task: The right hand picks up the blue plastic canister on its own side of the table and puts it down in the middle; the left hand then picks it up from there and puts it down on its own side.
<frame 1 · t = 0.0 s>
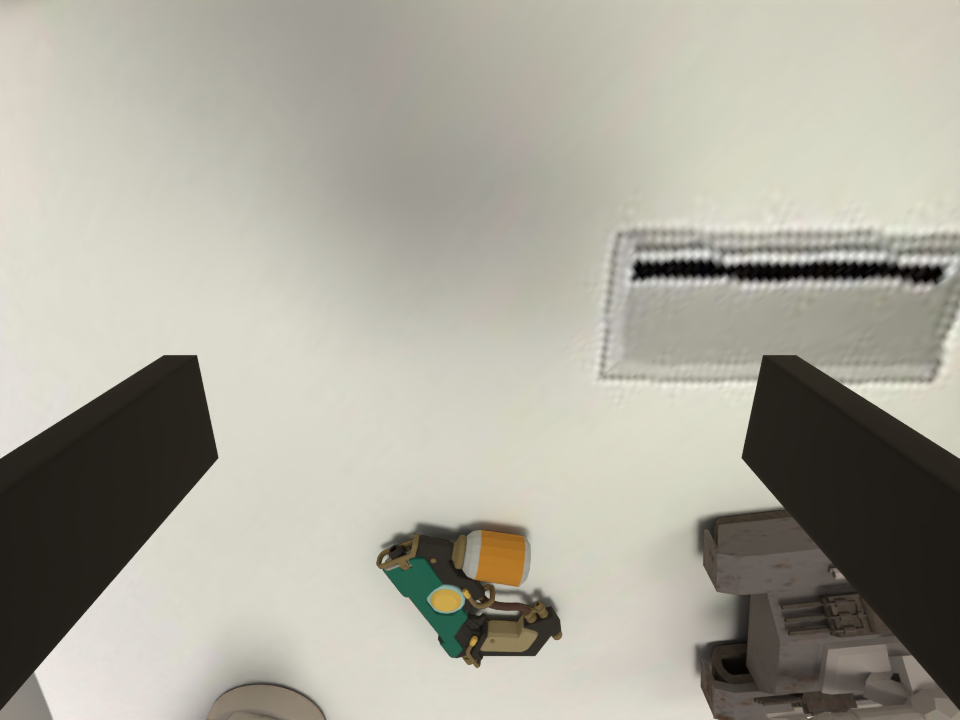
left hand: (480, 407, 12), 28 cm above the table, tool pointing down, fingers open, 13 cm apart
toy: (826, 584, 51), on the table
bust sculpture: (260, 698, 56), on the table
spray gun: (473, 584, 51), on the table
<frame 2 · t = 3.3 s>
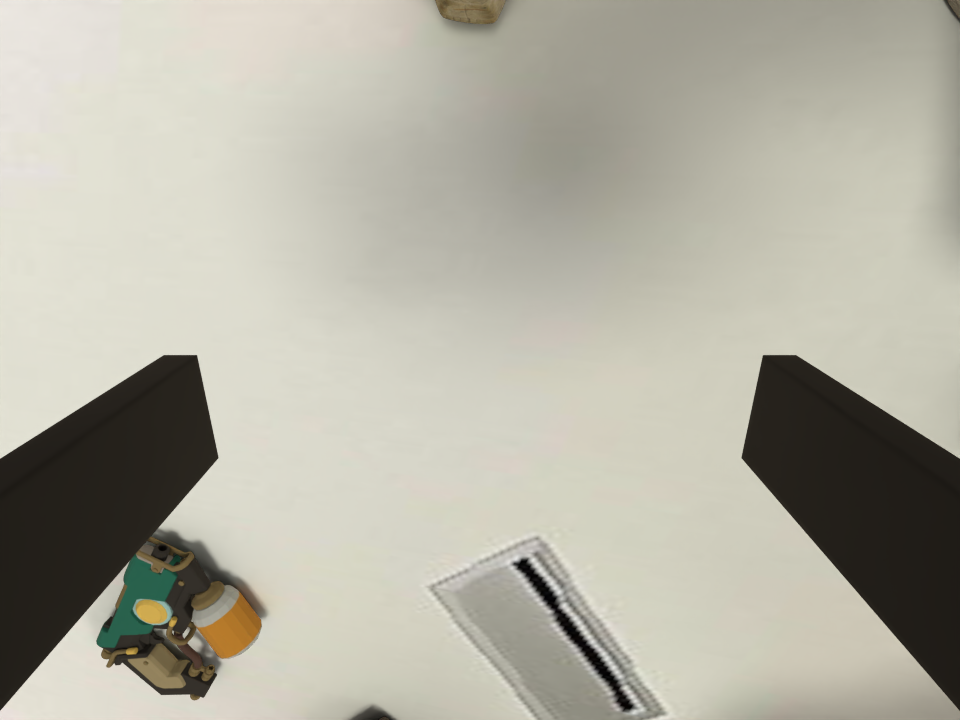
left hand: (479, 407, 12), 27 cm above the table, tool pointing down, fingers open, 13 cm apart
spray gun: (181, 609, 50), on the table
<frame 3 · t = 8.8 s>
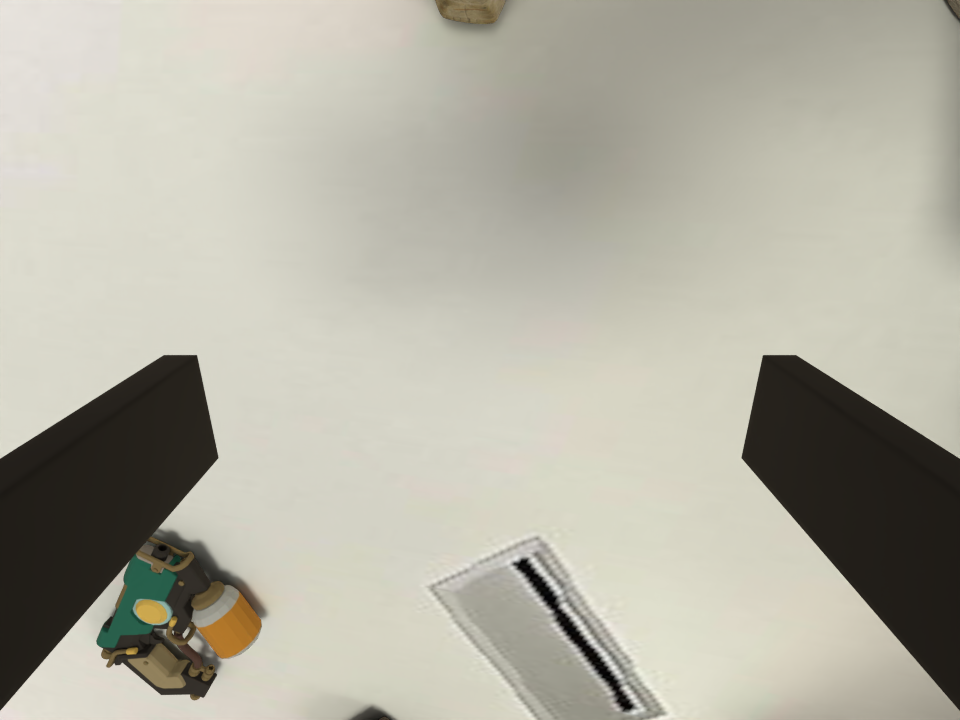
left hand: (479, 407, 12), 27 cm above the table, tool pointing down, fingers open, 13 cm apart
spray gun: (181, 609, 50), on the table
when the right hand's fingers open (6 cm above the table, at t = 14.2 s): canister drops 2 cm, on the table.
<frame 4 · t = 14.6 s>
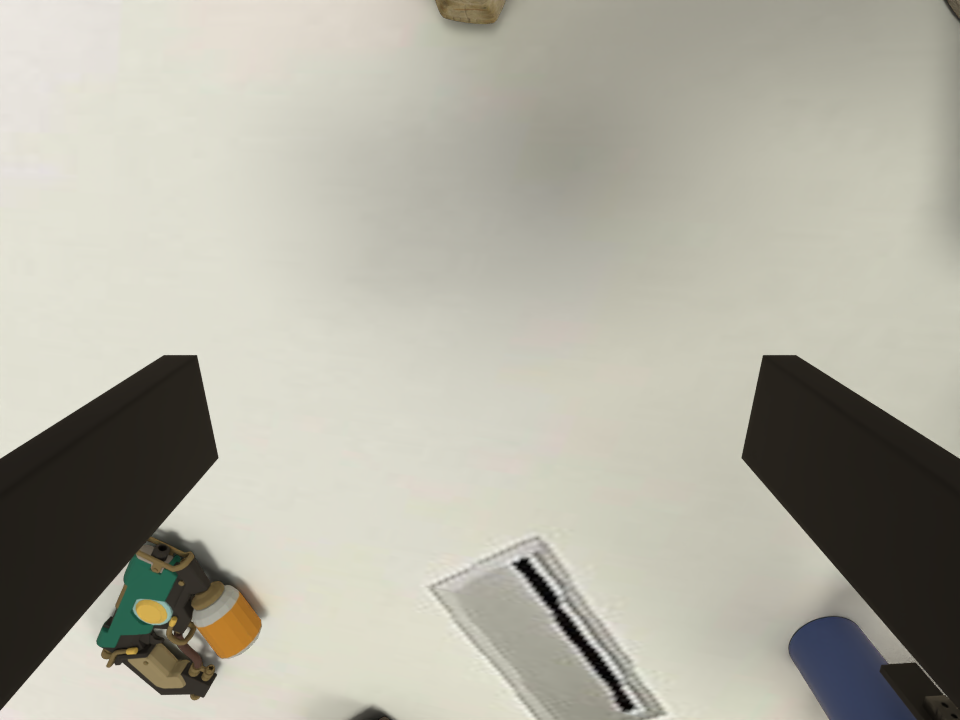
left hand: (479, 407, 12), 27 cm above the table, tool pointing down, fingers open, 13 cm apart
canister: (824, 643, 52), on the table
spray gun: (181, 609, 50), on the table
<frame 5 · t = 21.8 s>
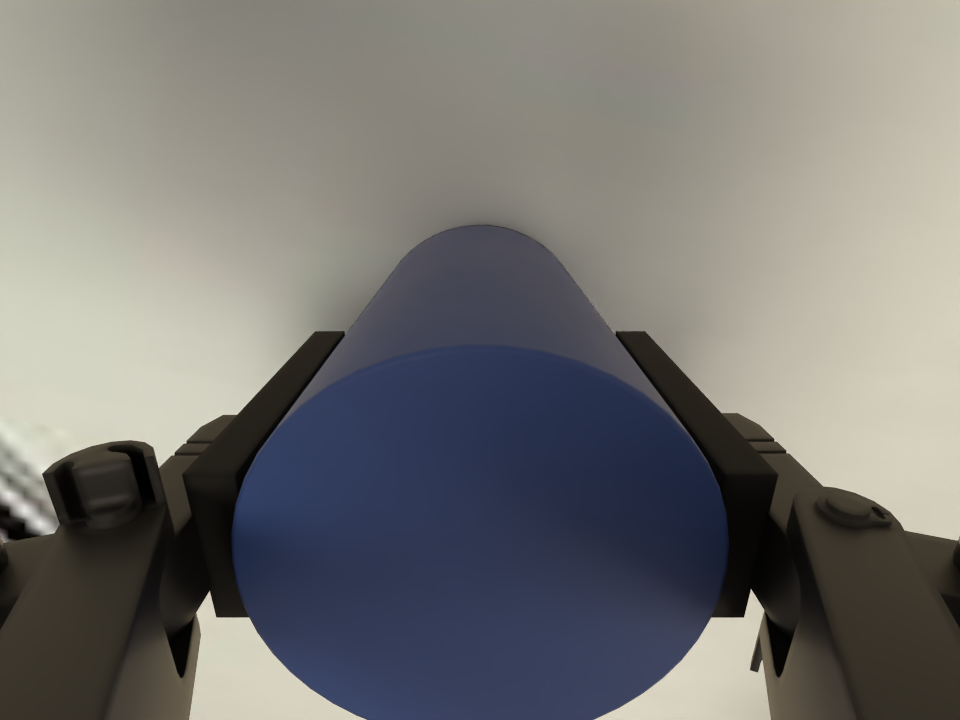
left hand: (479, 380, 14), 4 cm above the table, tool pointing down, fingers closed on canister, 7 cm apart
canister: (479, 328, 18), on the table, touching left hand
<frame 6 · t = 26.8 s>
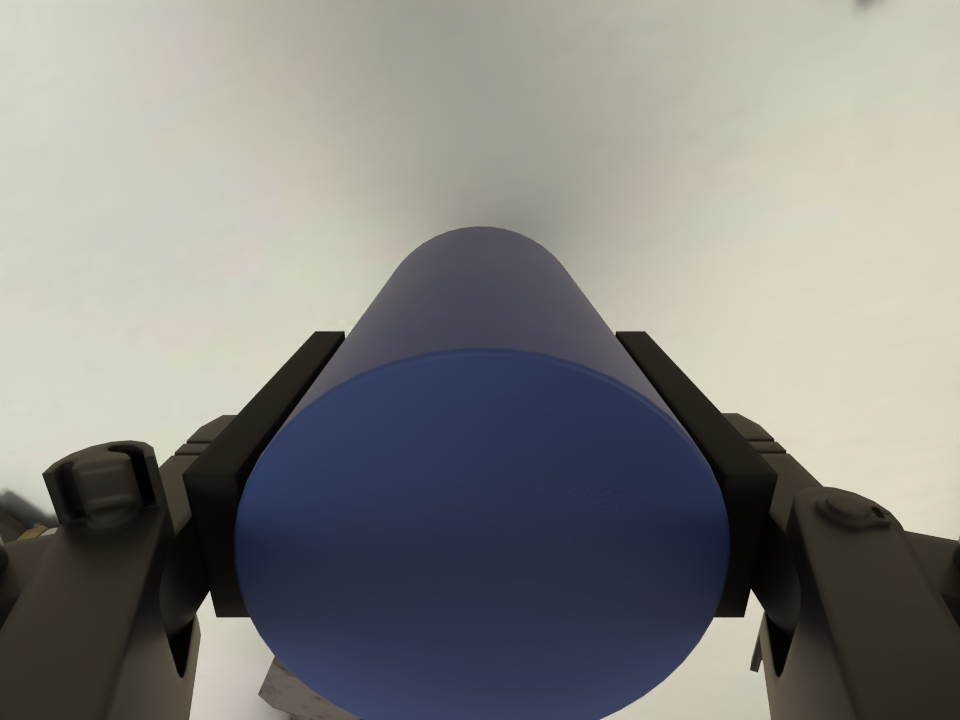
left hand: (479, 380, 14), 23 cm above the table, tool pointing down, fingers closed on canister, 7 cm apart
canister: (480, 330, 18), point 19 cm above the table, touching left hand
spray gun: (42, 575, 46), on the table
when the left hand's fingers open (6 cm above the table, at t = 32.2 s): canister drops 2 cm, on the table.
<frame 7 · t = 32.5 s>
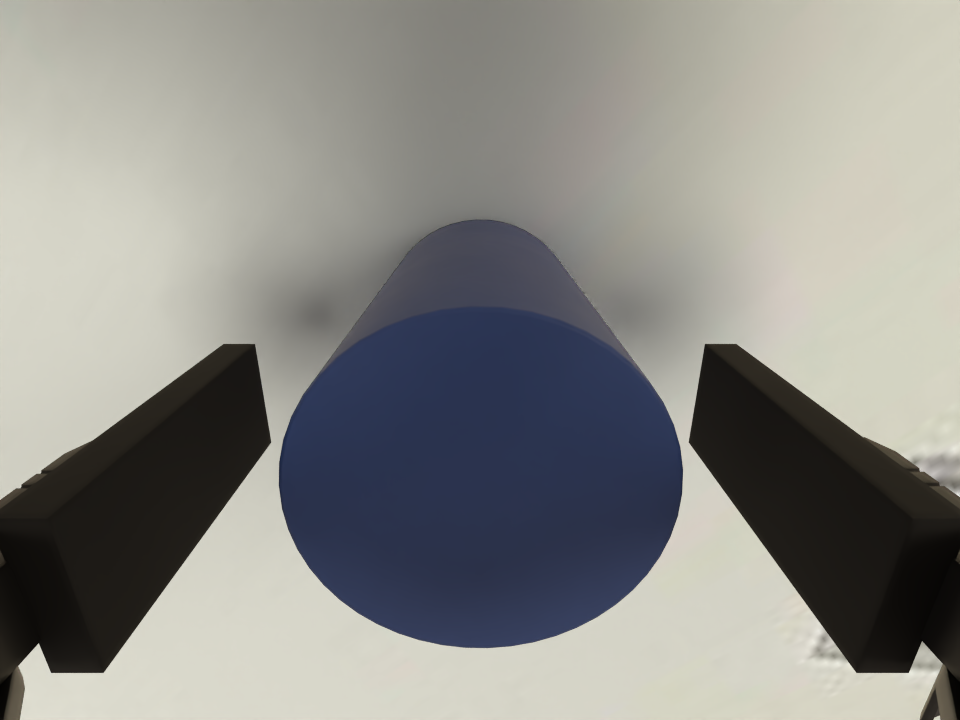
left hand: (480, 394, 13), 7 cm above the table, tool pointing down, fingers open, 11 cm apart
canister: (480, 314, 20), on the table
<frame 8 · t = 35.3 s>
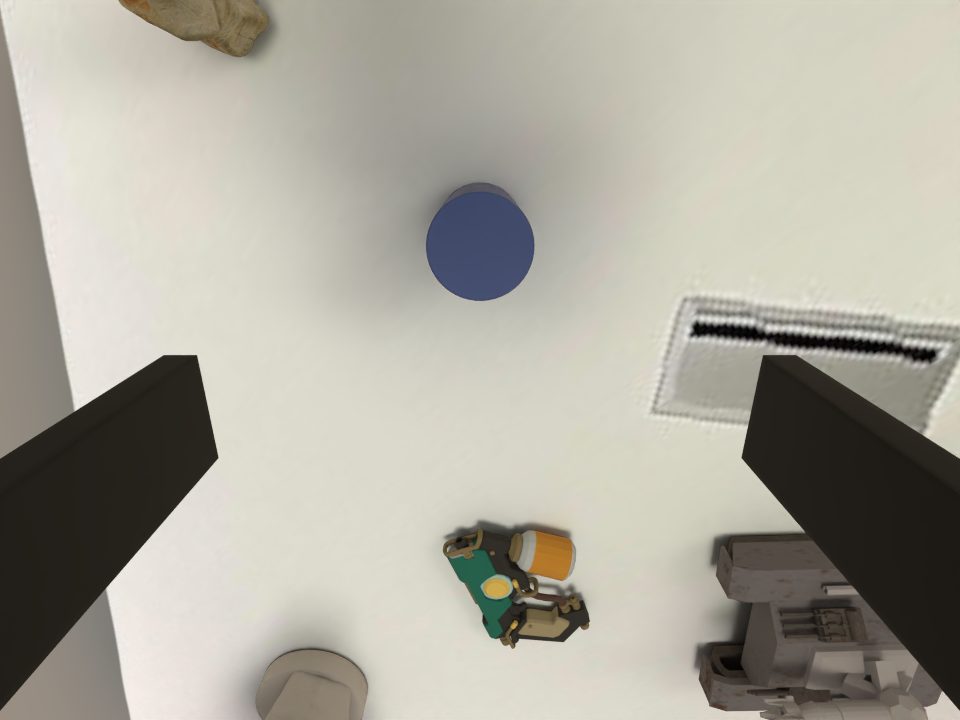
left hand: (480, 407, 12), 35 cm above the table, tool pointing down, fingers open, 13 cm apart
sculpture: (229, 11, 39), on the table
canister: (480, 226, 45), on the table
toy: (813, 600, 60), on the table
bust sculpture: (313, 662, 63), on the table
spray gun: (517, 576, 59), on the table
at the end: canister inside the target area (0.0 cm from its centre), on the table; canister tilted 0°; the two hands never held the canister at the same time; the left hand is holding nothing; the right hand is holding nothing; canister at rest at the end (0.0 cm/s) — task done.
